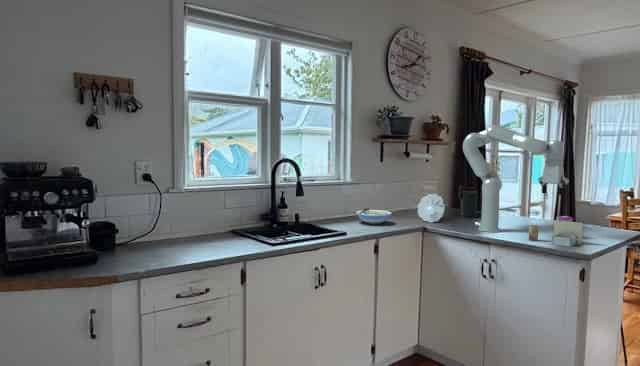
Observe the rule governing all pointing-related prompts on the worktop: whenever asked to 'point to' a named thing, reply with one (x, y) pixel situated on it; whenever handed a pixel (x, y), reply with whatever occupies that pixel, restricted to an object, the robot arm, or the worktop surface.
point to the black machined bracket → (468, 202)
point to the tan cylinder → (533, 233)
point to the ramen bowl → (373, 216)
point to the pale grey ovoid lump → (431, 208)
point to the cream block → (567, 233)
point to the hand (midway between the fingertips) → (552, 194)
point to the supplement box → (565, 218)
